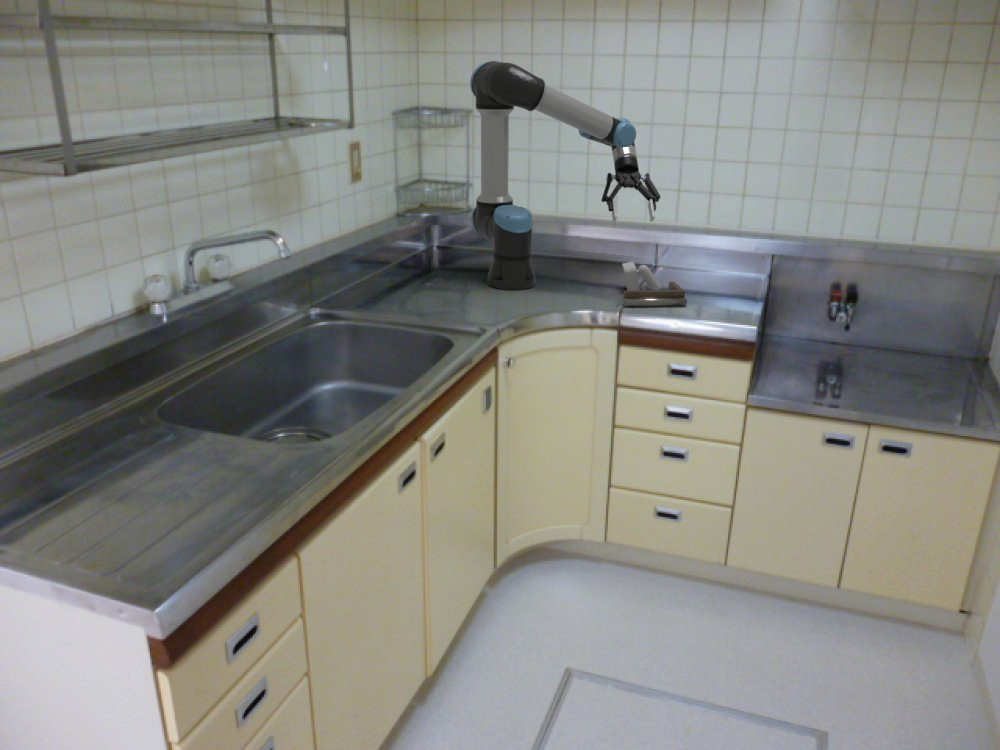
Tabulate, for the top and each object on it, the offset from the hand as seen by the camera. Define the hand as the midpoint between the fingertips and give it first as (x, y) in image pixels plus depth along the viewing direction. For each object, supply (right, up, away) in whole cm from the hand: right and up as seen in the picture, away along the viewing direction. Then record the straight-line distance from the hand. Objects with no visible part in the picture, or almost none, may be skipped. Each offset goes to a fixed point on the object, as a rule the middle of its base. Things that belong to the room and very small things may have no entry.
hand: (634, 219), depth 262 cm
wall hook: (+1, -24, -5) cm, 24 cm away
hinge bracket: (+2, -27, -15) cm, 31 cm away
